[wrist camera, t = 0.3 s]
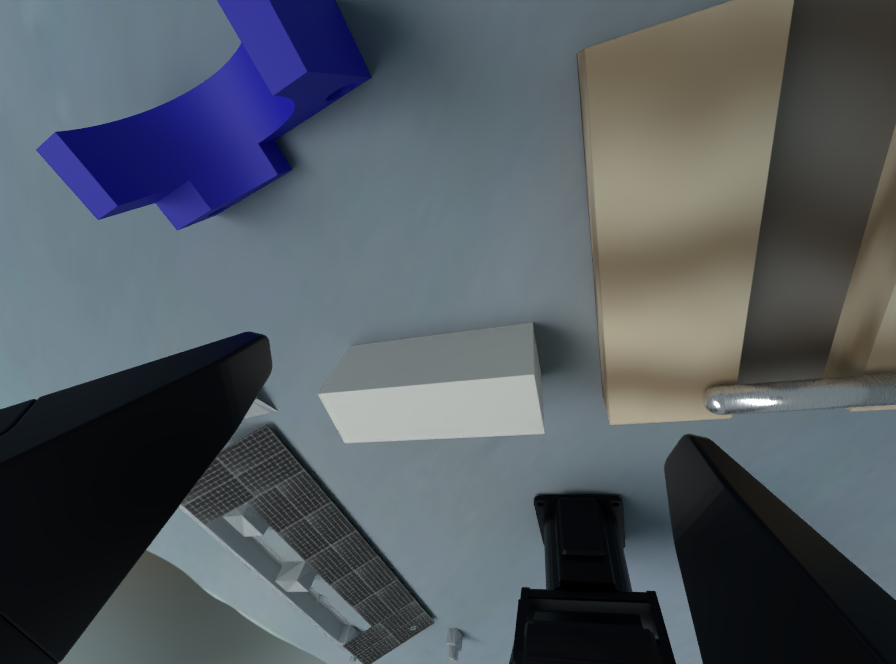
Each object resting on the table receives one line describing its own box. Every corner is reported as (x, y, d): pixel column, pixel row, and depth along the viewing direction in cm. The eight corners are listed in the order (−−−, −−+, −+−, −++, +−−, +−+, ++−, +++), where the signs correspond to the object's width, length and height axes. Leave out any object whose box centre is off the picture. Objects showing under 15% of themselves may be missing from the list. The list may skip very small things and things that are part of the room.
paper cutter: (349, 629, 54) (333, 679, 50) (106, 405, 35) (42, 453, 30) (464, 634, 48) (458, 691, 43) (248, 363, 28) (194, 415, 24)
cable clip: (217, 214, 22) (125, 251, 17) (159, 135, 20) (35, 149, 15) (389, 112, 17) (333, 121, 12) (335, -2, 15) (244, -46, 11)
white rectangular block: (541, 374, 24) (544, 433, 20) (372, 389, 27) (344, 443, 23) (532, 320, 22) (534, 374, 18) (351, 344, 25) (317, 394, 21)
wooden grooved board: (964, 368, 19) (1055, 425, 16) (603, 395, 24) (614, 444, 20) (1235, -158, 10) (1566, -275, 7) (576, 54, 15) (590, 44, 12)
